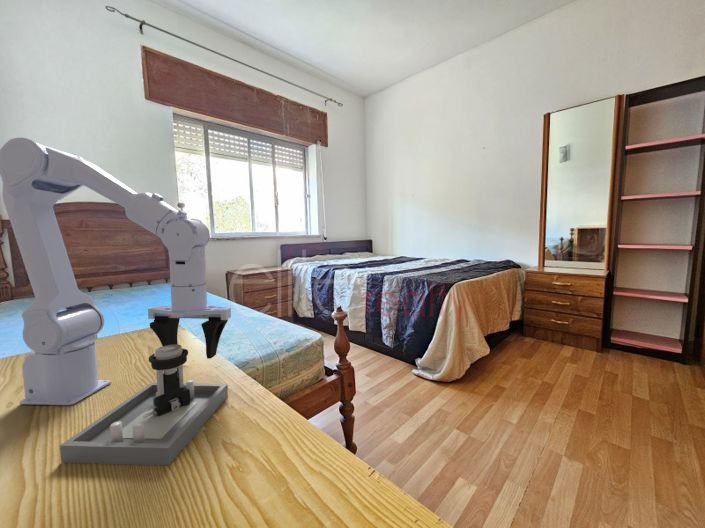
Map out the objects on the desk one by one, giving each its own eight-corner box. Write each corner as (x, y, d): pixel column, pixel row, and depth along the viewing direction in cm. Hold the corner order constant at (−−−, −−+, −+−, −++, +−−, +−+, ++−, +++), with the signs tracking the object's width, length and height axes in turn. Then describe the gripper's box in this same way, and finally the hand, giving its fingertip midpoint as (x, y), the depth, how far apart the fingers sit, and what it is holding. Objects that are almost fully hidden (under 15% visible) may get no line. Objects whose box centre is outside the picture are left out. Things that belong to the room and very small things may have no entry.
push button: (150, 427, 42) (145, 361, 41) (136, 414, 45) (132, 352, 44) (196, 405, 47) (193, 347, 47) (181, 395, 50) (178, 340, 50)
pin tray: (61, 462, 36) (58, 434, 36) (152, 394, 52) (151, 374, 52) (169, 465, 36) (167, 436, 36) (227, 396, 52) (227, 375, 52)
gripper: (133, 287, 49) (137, 364, 50) (216, 288, 49) (219, 366, 50) (161, 281, 56) (165, 349, 57) (235, 282, 56) (236, 350, 57)
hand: (191, 356), depth 54 cm, fingers open, 7 cm apart
